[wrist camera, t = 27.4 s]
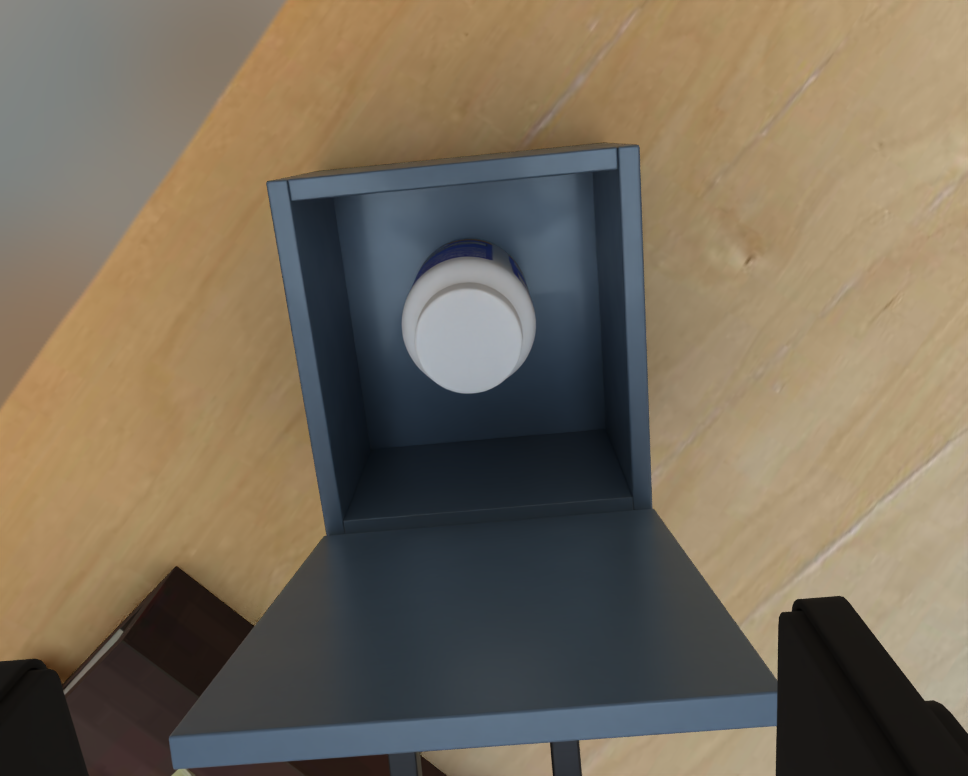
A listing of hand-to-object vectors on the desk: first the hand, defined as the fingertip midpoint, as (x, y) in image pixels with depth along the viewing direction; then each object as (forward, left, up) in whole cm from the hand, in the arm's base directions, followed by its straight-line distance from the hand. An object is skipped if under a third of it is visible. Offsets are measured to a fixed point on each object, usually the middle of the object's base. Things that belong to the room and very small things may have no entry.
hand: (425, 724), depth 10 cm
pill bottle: (0, 0, -30) cm, 30 cm away
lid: (+6, 0, -14) cm, 15 cm away
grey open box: (+1, 0, -30) cm, 30 cm away
